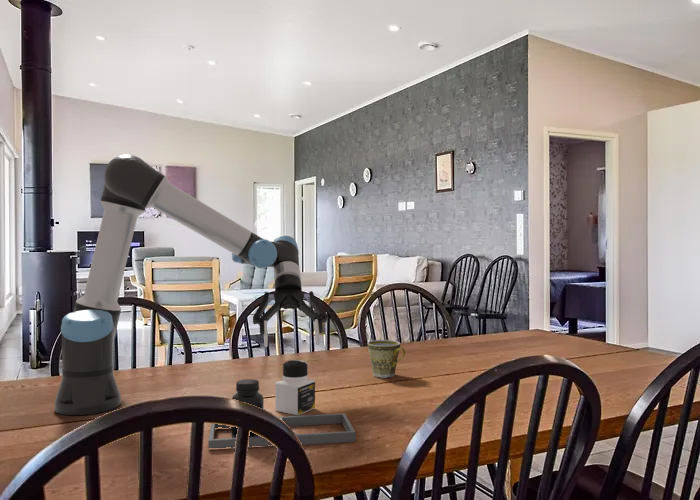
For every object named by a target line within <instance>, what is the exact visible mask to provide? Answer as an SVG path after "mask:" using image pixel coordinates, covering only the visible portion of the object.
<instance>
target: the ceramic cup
mask: <svg viewBox="0 0 700 500" xmlns="http://www.w3.org/2000/svg"><path fill="white" fill-rule="evenodd" d="M367 349H368V354H369V358H370V363H371V370H372V375H373V377H374V376H375V377H376V378H379V377H380V378H379V379H388V378H387V377H391V378H393V377H392V376H394V377H395V374H396V369H397V364H398V362H400V361H401V360H402V359H403V358H404V357H405V355H406V351H405V349H404V348H403V347H401V342H399V341H397V340H390V339H376V340H370V341H368V342H367ZM400 351H402V354H403V355H402V356H401V357H399V353H400ZM375 377H374V378H375Z"/></svg>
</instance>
